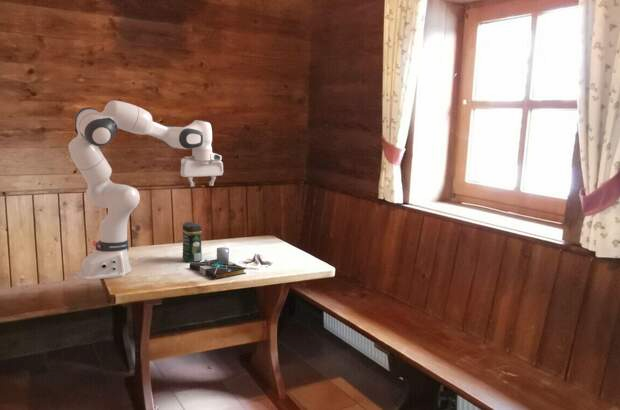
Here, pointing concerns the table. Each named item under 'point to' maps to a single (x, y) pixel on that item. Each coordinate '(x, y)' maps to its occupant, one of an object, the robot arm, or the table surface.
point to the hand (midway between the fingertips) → (202, 186)
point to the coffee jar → (192, 242)
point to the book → (217, 269)
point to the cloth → (256, 262)
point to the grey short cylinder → (223, 255)
